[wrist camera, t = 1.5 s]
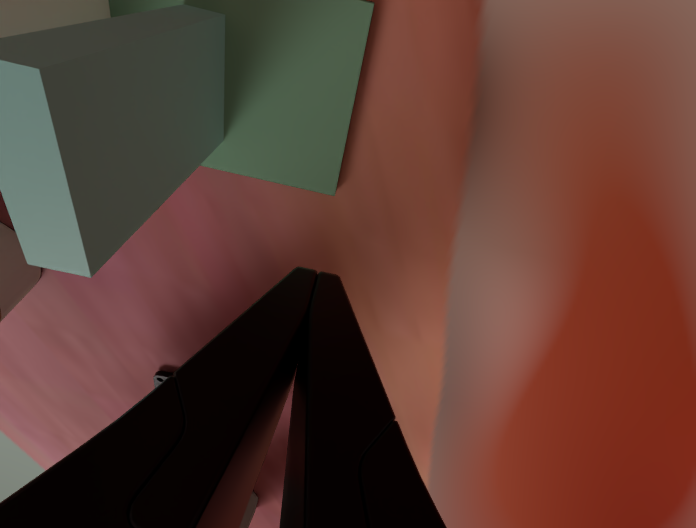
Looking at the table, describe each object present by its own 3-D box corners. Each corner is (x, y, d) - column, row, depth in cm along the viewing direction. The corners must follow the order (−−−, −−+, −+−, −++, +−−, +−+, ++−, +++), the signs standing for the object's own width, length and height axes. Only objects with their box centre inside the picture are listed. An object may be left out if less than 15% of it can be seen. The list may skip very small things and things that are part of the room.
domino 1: (124, 117, 18) (-91, 239, 10) (88, 109, 18) (-157, 225, 10) (106, -15, 15) (-223, 7, 7) (63, -26, 15) (-320, -16, 7)
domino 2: (223, 140, 18) (91, 277, 10) (188, 132, 18) (27, 264, 10) (225, 14, 15) (39, 69, 7) (183, 3, 15) (-53, 47, 7)
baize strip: (335, 190, 20) (334, 196, 19) (-200, 68, 19) (-215, 70, 18) (374, 2, 15) (374, 3, 15) (-345, -180, 14) (-372, -186, 13)
